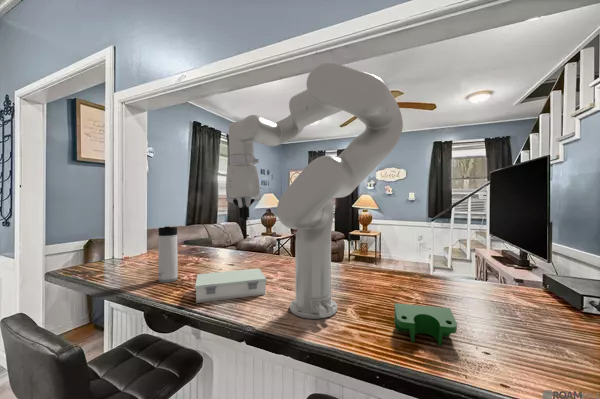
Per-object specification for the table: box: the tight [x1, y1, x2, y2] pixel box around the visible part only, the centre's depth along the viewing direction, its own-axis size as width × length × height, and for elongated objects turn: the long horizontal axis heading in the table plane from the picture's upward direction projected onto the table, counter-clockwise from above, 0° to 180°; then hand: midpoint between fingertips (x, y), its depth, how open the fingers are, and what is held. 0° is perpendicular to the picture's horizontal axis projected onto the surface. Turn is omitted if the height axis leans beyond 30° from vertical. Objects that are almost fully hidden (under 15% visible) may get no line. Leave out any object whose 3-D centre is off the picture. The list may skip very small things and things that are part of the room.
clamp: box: [393, 302, 458, 347], centre depth 54 cm, size 12×6×9 cm, turn 69°
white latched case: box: [195, 281, 267, 304], centre depth 82 cm, size 13×20×4 cm, turn 109°
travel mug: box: [157, 225, 179, 284], centre depth 95 cm, size 6×7×20 cm
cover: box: [194, 268, 267, 290], centre depth 82 cm, size 14×20×1 cm
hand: (244, 220), depth 81 cm, fingers closed
